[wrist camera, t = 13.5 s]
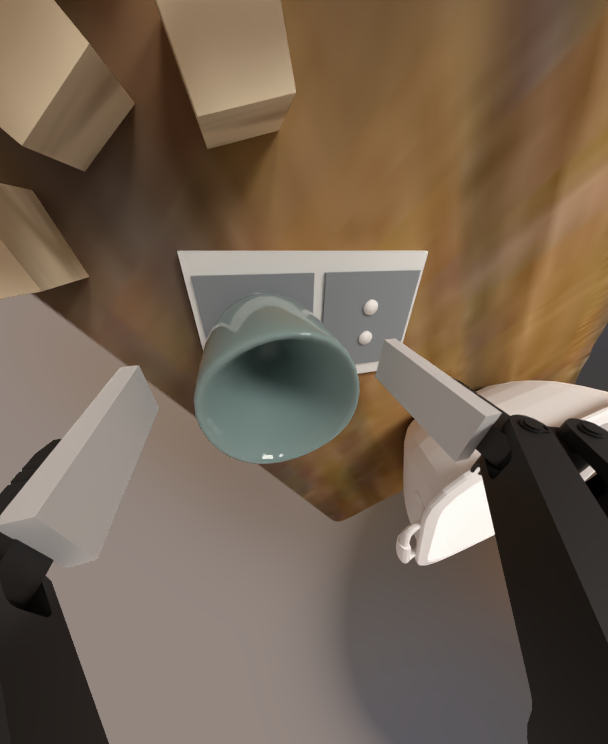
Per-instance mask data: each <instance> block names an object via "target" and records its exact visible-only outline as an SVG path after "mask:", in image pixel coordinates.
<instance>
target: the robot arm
mask: <svg viewBox="0 0 608 744" xmlns="http://www.w3.org/2000/svg"><path fill="white" fill-rule="evenodd" d="M375 377H376V378H377V379H378V380H379V381H380V382H381V384H382V385H383V386H384V387H385V388H386V389H387V390H388V391H389V392H390V393H391V394H392V395H393V396H394V397H395V398H396V400H397V401H398V402H399V403H400V404H401V405H402V406H403V407H404V408H405V409H406V410H407V411H408V412H409V413H410V415H411V416H412V417H413V418H414V419H415V420H416V421H417V422H418V423H419V424H420V425H421V426H422V427H423V428H424V430H425V431H426V432H427V433H428V434H429V435H430V436H431V437H432V438H433V439H434V440H435V441H436V442H437V443H438V445H439V446H440V447H441V448H442V449H443V450H444V451H445V452H446V453H447V454H448V455H449V456H450V457H451V458H452V460H453V461H454V462H457V461H461V460H465V459H468V458H470V456H471V455H472V453H473V452H474V451H475V449H476V450H477V451H478V452H479V453H481V455H480V457H479V458H478V459H477V460H476V462H475V463H474V464H473V466H472V467H471V471H470V472H473V473H474V471H475V470H476V469H477V468H478V467H480V471H479V472H478V475H481V476H482V479H483V484H484V488H485V493H486V497H487V501H488V506H489V510H490V515H491V519H492V523H493V528H494V532H495V537H496V541H497V545H498V550H499V554H500V558H501V563H502V567H503V572H504V576H505V581H506V585H507V589H508V594H509V598H510V602H511V607H512V611H513V616H514V620H515V625H516V629H517V633H518V638H519V642H520V647H521V651H522V656H523V660H524V664H525V668H526V673H527V677H528V682H529V686H530V691H531V697H532V712H531V715H530V718H529V721H528V726H527V740H528V744H608V431H607V430H605V429H603V428H602V427H600V426H598V425H597V424H595V423H592V422H589V421H586V420H581V419H577V418H569V419H567V420H566V421H565V422H564V423H563V424H562V425H561V426H560V427H550V426H546V425H545V424H543V423H542V422H540V421H538V420H536V419H534V418H531V417H528V416H525V415H519V414H516V415H512V416H510V415H509V414H507V413H506V412H504V411H503V410H501V409H500V408H498V407H497V406H495V405H494V404H492V403H491V402H490V401H488V400H487V399H485V398H484V397H482V396H481V395H479V394H477V393H476V392H475V391H474V390H472V389H469V387H468V386H466V385H465V384H463V383H462V382H460V381H459V380H456V379H454V378H452V377H450V376H448V375H447V374H446V373H444V372H443V371H441V370H440V369H438V368H437V367H436V366H434V365H433V364H431V363H430V362H428V361H427V360H426V359H424V358H423V357H421V356H420V355H418V354H417V353H415V352H414V351H413V350H411V349H410V348H408V347H407V346H405V345H404V344H403V343H401V342H400V341H398V340H397V339H385V340H384V343H383V347H382V351H381V355H380V359H379V363H378V367H377V371H376V375H375ZM158 411H159V407H158V405H157V402H156V400H155V398H154V396H153V394H152V392H151V390H150V388H149V386H148V383H147V381H146V379H145V377H144V375H143V373H142V371H141V369H140V367H139V365H137V366H127V367H120V368H119V369H118V370H117V372H116V373H115V374H114V375H113V377H112V378H111V379H110V380H109V382H108V383H107V384H106V385H105V387H104V388H103V389H102V390H101V391H100V393H99V394H98V395H97V396H96V398H95V399H94V400H93V402H92V403H91V404H90V405H89V406H88V408H87V409H86V410H85V411H84V412H83V414H82V415H81V416H80V417H79V419H78V420H77V421H76V422H75V424H74V425H73V426H72V427H71V429H70V430H69V431H68V433H66V435H65V436H64V437H63V438H62V439H57V440H53V441H52V442H50V443H49V444H48V445H46V446H45V447H44V448H42V449H41V450H40V451H38V452H37V453H36V454H35V455H34V456H33V457H32V458H31V459H30V461H29V462H28V463H27V464H26V465H25V466H24V467H23V468H22V472H19V473H18V474H17V475H16V476H15V478H14V479H13V480H12V481H11V485H8V486H7V487H6V488H5V489H4V490H3V491H2V492H1V494H0V744H109V742H108V740H107V737H106V734H105V731H104V728H103V726H102V723H101V720H100V717H99V714H98V712H97V709H96V706H95V703H94V700H93V697H92V695H91V692H90V689H89V686H88V683H87V680H86V678H85V675H84V672H83V669H82V666H81V664H80V661H79V658H78V655H77V652H76V649H75V647H74V644H73V641H72V638H71V635H70V632H69V630H68V627H67V624H66V621H65V618H64V616H63V613H62V610H61V607H60V604H59V601H58V599H57V596H56V593H55V590H54V587H53V585H52V582H51V580H49V578H47V577H46V576H45V575H46V573H47V571H48V570H49V568H50V566H51V564H52V562H53V561H54V562H56V563H57V564H59V565H61V566H63V567H64V568H68V567H72V566H76V565H79V564H83V563H87V562H90V561H94V560H97V559H98V556H99V554H100V552H101V549H102V547H103V544H104V542H105V539H106V537H107V535H108V532H109V530H110V527H111V525H112V522H113V520H114V517H115V515H116V512H117V510H118V508H119V505H120V503H121V500H122V498H123V496H124V493H125V491H126V488H127V486H128V483H129V481H130V478H131V476H132V474H133V471H134V469H135V466H136V464H137V462H138V459H139V457H140V454H141V452H142V449H143V447H144V445H145V442H146V440H147V437H148V435H149V432H150V430H151V428H152V425H153V423H154V420H155V418H156V415H157V413H158ZM589 466H591V467H592V468H593V469H594V470H595V472H596V473H597V475H595V476H594V477H592V478H591V479H589V480H588V481H586V482H585V481H584V480H583V478H582V477H581V475H580V473H581V472H582V471H584V470H585V469H586V468H587V467H589Z"/></svg>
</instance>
